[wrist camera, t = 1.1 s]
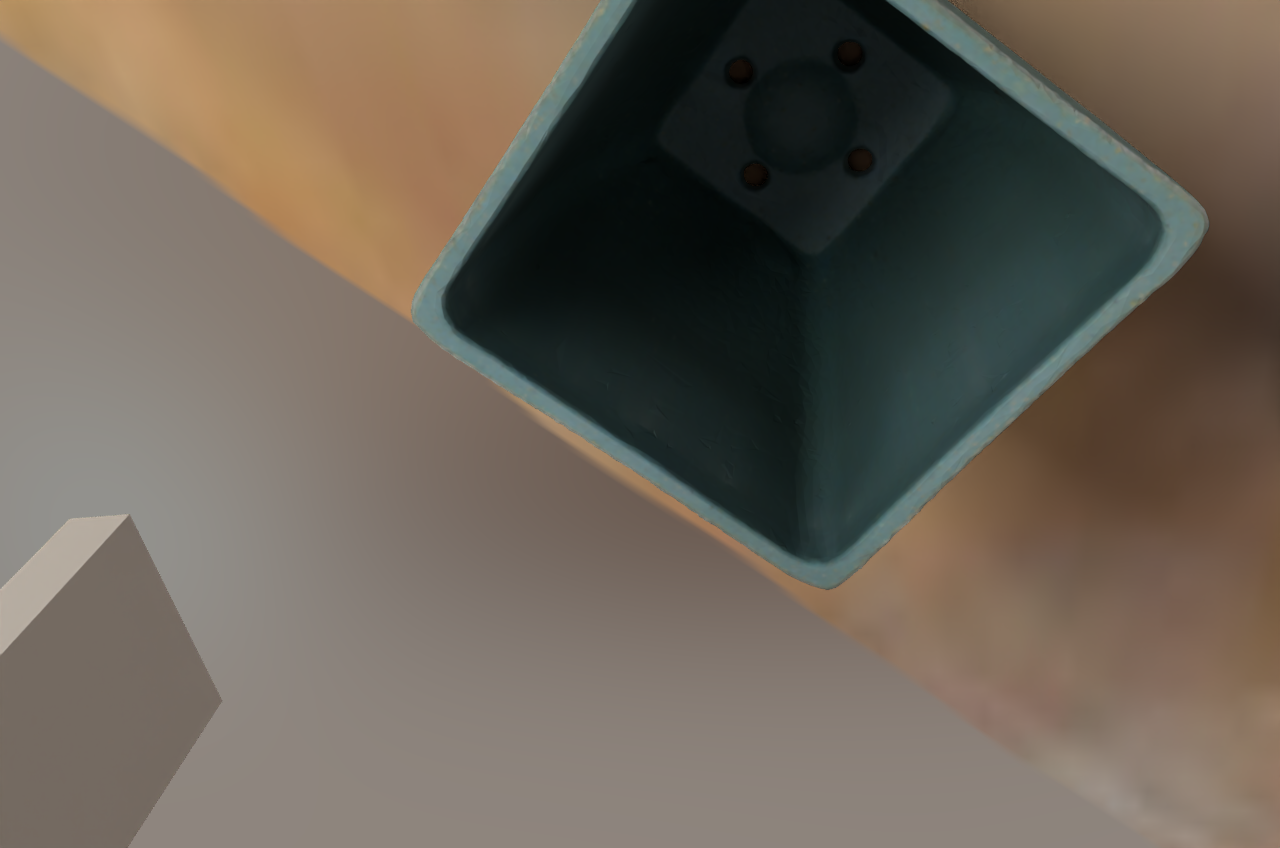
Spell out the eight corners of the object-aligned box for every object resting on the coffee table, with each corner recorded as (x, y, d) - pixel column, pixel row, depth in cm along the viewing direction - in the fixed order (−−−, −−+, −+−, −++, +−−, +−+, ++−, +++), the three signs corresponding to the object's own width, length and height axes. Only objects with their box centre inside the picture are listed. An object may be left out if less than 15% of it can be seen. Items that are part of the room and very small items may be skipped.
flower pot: (760, -218, 22) (709, -181, 14) (1109, 61, 23) (1231, 228, 16) (527, 147, 26) (395, 323, 19) (833, 362, 28) (826, 603, 20)
